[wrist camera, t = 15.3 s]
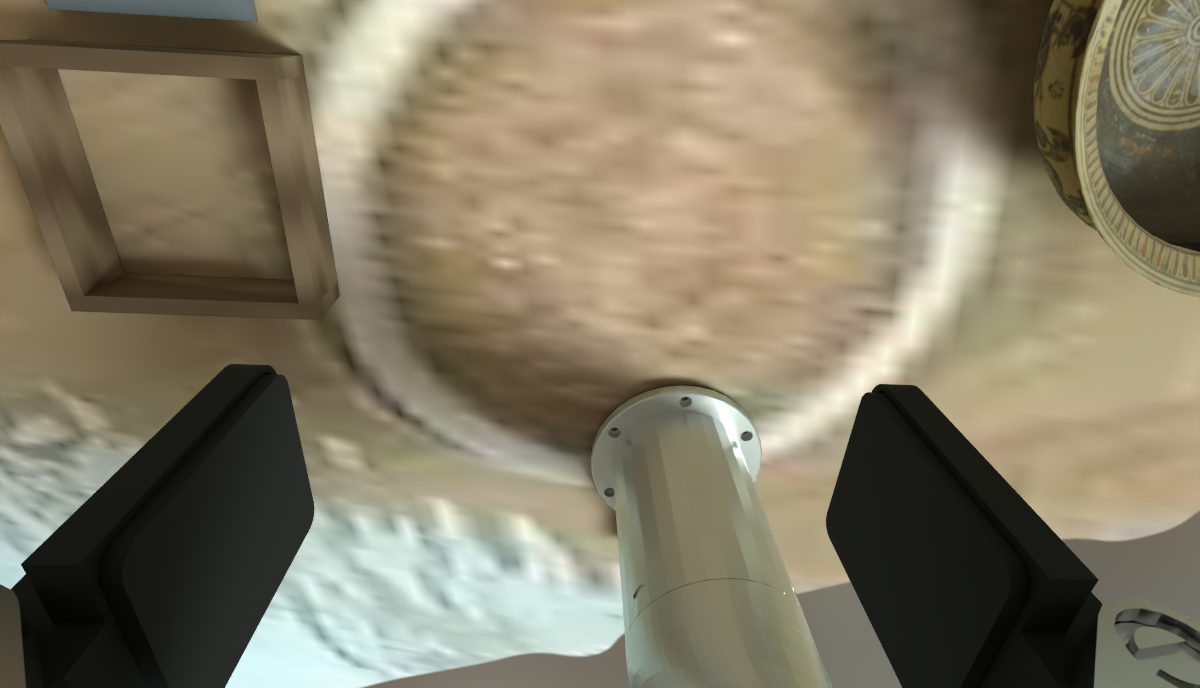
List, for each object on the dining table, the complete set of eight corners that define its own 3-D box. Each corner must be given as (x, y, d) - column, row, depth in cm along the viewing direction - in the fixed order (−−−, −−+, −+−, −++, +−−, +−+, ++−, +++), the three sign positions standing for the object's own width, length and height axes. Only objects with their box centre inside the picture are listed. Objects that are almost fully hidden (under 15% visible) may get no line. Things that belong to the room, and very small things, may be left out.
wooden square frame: (339, 296, 39) (318, 319, 36) (112, 287, 38) (71, 310, 35) (301, 55, 32) (272, 58, 29) (27, 39, 32) (-32, 41, 29)
